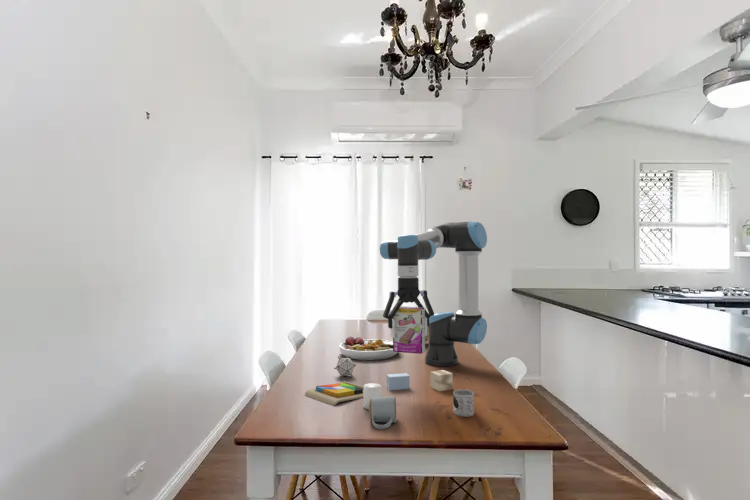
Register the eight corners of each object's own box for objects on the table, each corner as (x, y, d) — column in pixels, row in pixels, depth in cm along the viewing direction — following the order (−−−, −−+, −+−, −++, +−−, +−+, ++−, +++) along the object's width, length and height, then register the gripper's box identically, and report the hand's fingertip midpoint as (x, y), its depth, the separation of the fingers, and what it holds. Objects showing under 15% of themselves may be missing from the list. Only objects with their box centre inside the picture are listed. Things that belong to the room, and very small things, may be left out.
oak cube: (443, 385, 185) (443, 369, 185) (452, 389, 180) (452, 373, 180) (430, 387, 183) (430, 371, 183) (439, 391, 177) (439, 375, 177)
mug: (452, 409, 158) (452, 389, 158) (473, 409, 157) (473, 389, 157) (454, 420, 148) (454, 398, 148) (476, 420, 147) (476, 399, 147)
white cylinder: (377, 402, 164) (378, 382, 164) (383, 408, 158) (384, 388, 158) (361, 404, 162) (361, 384, 162) (366, 410, 157) (366, 389, 156)
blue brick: (406, 386, 185) (406, 373, 185) (409, 389, 181) (409, 375, 181) (386, 387, 183) (386, 374, 183) (389, 390, 179) (389, 377, 179)
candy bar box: (392, 352, 175) (392, 307, 174) (396, 349, 179) (395, 305, 179) (422, 354, 171) (422, 308, 171) (425, 351, 176) (425, 306, 176)
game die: (348, 386, 197) (352, 370, 192) (329, 377, 199) (333, 362, 193) (356, 371, 204) (360, 355, 199) (338, 363, 206) (342, 347, 200)
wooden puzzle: (374, 395, 175) (374, 385, 175) (334, 407, 161) (334, 397, 161) (342, 385, 187) (342, 376, 187) (303, 396, 174) (303, 386, 174)
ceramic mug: (370, 416, 151) (370, 392, 151) (396, 417, 150) (396, 393, 150) (367, 430, 140) (367, 404, 140) (395, 430, 140) (395, 404, 140)
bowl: (409, 352, 244) (409, 337, 244) (378, 364, 219) (378, 347, 219) (361, 346, 260) (361, 331, 260) (327, 357, 235) (327, 341, 235)
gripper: (378, 278, 168) (379, 340, 169) (442, 276, 174) (443, 336, 174) (374, 277, 176) (374, 336, 176) (435, 275, 181) (436, 332, 182)
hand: (409, 336), depth 175 cm, fingers closed on candy bar box, 12 cm apart
